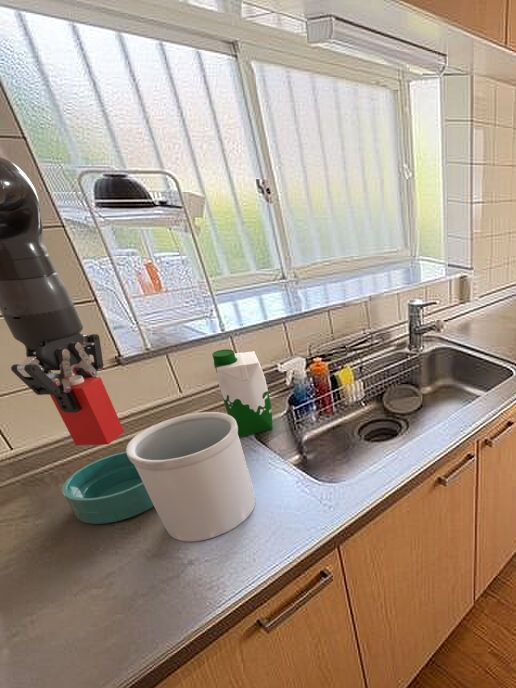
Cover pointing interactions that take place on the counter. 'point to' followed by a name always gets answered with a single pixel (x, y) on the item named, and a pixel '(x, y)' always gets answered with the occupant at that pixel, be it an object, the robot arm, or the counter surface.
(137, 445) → the utensil holder
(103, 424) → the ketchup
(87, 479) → the teal bowl
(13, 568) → the counter surface
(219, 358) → the milk carton
